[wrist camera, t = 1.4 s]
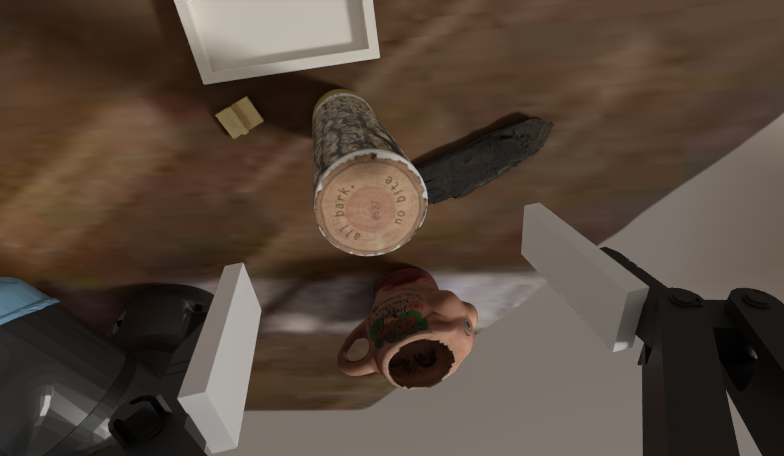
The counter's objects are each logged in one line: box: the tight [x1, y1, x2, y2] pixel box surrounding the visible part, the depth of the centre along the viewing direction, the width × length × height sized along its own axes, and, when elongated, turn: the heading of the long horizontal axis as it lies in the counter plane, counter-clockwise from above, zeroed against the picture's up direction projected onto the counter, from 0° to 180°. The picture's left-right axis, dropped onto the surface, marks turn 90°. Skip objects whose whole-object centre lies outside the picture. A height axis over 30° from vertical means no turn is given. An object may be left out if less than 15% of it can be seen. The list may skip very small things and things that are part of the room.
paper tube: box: [312, 89, 428, 256], centre depth 33 cm, size 7×7×25 cm
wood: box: [415, 118, 554, 204], centre depth 49 cm, size 22×7×3 cm, turn 111°
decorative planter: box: [337, 268, 478, 389], centre depth 52 cm, size 20×12×14 cm, turn 111°
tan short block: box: [215, 95, 265, 139], centre depth 40 cm, size 4×3×3 cm
